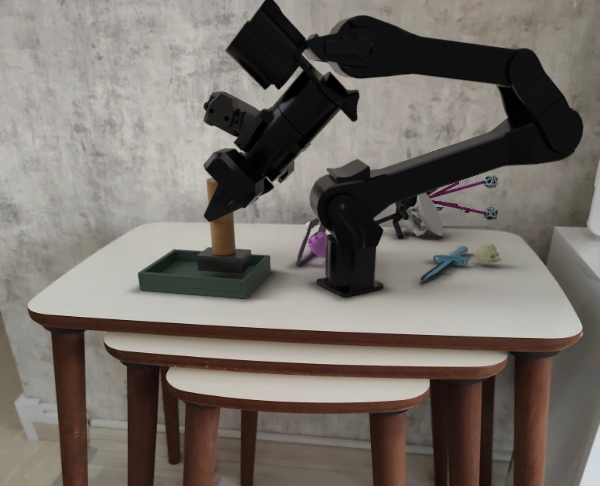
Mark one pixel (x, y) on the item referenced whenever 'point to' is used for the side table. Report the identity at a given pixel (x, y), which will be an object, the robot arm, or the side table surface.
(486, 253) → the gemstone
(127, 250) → the side table surface
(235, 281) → the tray
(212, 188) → the wooden peg on stand
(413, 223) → the miniature
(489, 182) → the decorative piece
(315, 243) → the purple triangular frame ornament
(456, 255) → the knife
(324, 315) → the side table surface
